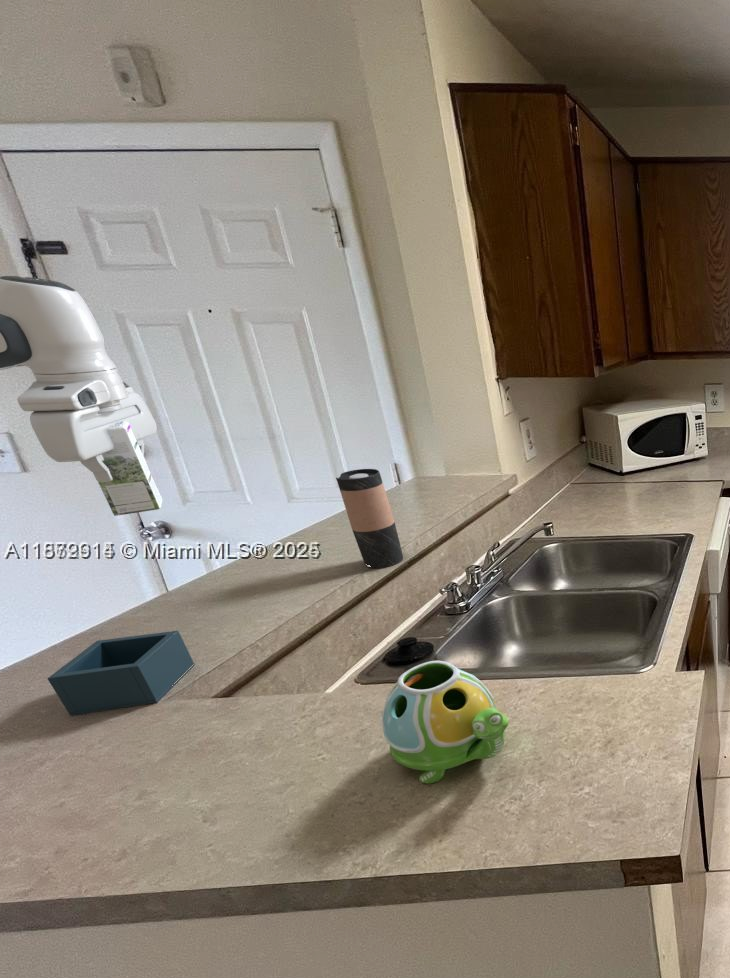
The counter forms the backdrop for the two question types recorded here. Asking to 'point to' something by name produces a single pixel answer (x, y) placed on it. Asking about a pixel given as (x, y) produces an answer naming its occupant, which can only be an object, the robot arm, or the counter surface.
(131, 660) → the box
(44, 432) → the robot arm
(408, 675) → the turtle holder
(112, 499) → the syrup box
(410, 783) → the counter surface
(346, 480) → the travel mug
